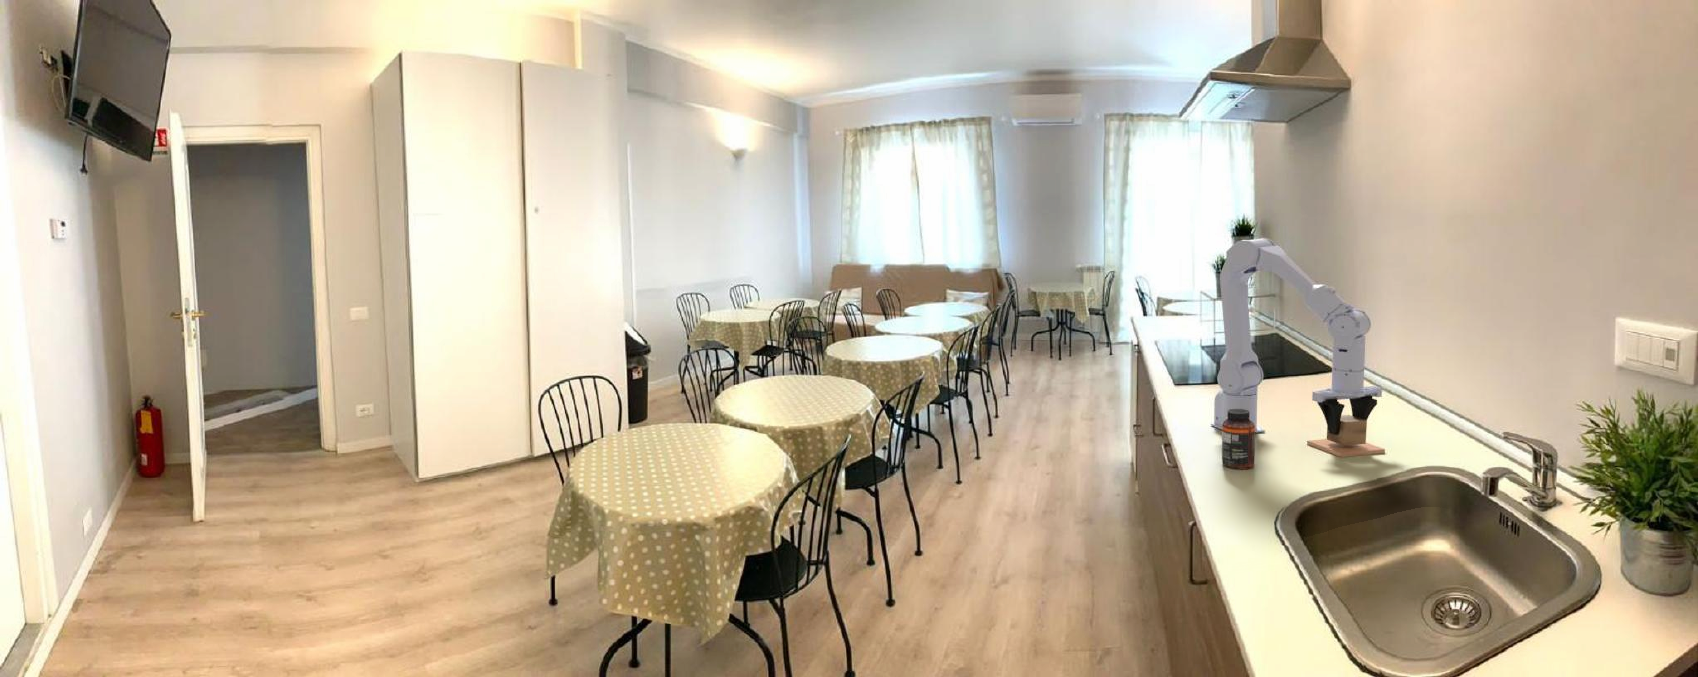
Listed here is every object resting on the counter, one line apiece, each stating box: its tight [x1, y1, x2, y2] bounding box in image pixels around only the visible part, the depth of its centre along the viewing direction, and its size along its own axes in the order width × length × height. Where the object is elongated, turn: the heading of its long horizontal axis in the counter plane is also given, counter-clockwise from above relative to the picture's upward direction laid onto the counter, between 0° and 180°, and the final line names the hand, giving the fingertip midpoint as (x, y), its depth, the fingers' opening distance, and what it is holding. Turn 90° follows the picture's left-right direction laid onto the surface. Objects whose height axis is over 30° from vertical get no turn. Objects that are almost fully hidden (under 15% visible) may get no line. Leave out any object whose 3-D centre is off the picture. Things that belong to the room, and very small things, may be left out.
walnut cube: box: [1326, 414, 1368, 446], centre depth 174 cm, size 5×5×5 cm
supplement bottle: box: [1221, 409, 1256, 470], centre depth 167 cm, size 6×6×11 cm
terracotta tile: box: [1306, 438, 1386, 458], centre depth 175 cm, size 10×10×1 cm
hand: (1345, 432), depth 175 cm, fingers closed on walnut cube, 5 cm apart
